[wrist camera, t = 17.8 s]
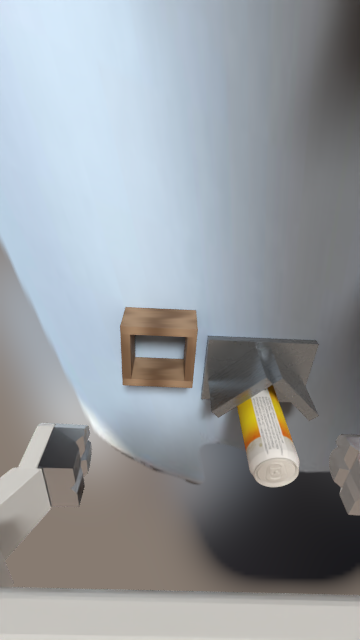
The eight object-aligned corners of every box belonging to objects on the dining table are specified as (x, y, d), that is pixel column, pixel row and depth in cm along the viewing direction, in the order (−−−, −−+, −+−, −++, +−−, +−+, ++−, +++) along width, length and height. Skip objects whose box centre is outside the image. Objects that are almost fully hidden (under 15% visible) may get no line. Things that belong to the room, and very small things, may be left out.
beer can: (235, 404, 56) (252, 491, 43) (232, 376, 52) (249, 460, 40) (273, 399, 55) (302, 486, 42) (271, 370, 52) (302, 454, 39)
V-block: (316, 340, 50) (337, 376, 43) (298, 398, 56) (314, 437, 49) (208, 335, 50) (212, 370, 43) (201, 394, 56) (204, 433, 49)
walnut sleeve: (196, 310, 48) (197, 329, 43) (191, 365, 53) (192, 387, 48) (125, 307, 47) (120, 326, 43) (127, 363, 52) (122, 385, 48)
